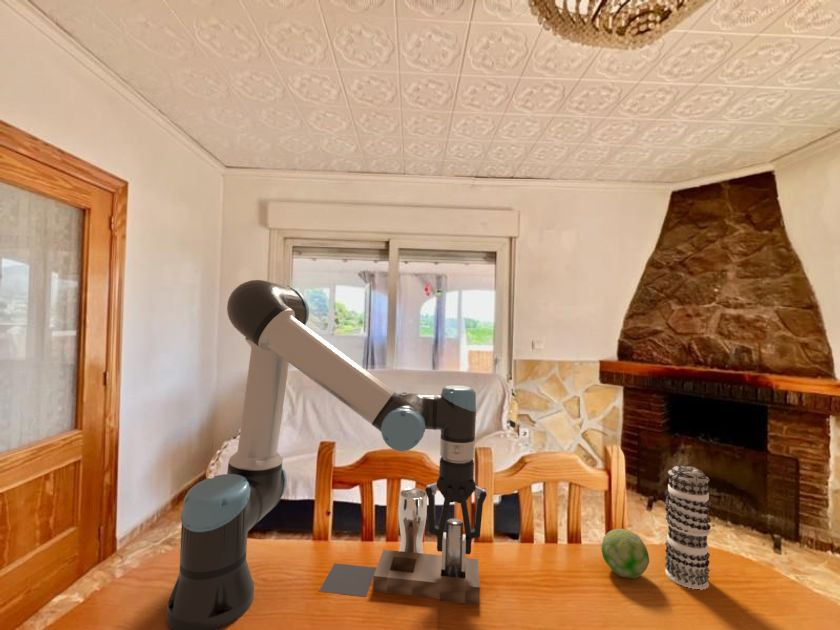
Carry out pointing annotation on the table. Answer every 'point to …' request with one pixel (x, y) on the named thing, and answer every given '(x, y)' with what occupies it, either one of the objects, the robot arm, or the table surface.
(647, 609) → the table surface
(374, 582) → the socket block
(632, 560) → the decorative ball
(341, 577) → the rubber mat
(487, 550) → the table surface
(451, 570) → the steel peg
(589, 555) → the table surface
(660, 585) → the table surface
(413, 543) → the beer glass
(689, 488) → the decorative candle
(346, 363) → the robot arm
